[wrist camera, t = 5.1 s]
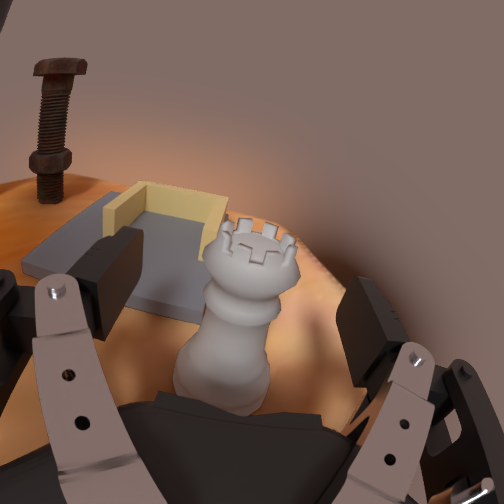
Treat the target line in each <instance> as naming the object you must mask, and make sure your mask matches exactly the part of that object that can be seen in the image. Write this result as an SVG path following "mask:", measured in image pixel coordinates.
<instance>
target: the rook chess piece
mask: <svg viewBox="0 0 504 504" xmlns="http://www.w3.org/2000/svg"><path fill="white" fill-rule="evenodd" d="M252 226H253V220H252V219H251V218H239V219H238V223H237V228H236V230H233V228H234V222H232V221H230V220H226V221H224V222H222V223H221V224H220V229H219V232H218V237H217V238H215V239H214V240H213V241H212V242H210V243H209V244H208V245H207V246H205V248H204V251H203V254H202V258H203V261H204V263H205V265H206V268H207V269H208V271H209V273H210V274H211V276H212V280H210V281H209V282H208V283H207V284H206V285H205V286H204V290H203V294H202V295H203V298H204V300H205V303H206V311H205V314H204V316H203V319H202V322H201V325H200V328H199V330H198V332H196V333H195V334H194V335H193V336H192V338H190V339H189V340H188V341H187V343H186V344H185V345H184V346H183V347H182V348H181V349H180V351H179V352H178V355H177V359H176V363H175V367H174V368H175V369H174V373H173V377H172V380H173V383H174V387H175V391H176V394H177V395H178V396H183V397H187V398H192V399H197V400H200V401H203V402H205V403H207V404H210V405H212V406H215V407H217V408H220V409H222V410H225V411H227V412H230V413H233V414H235V415H238V416H248V415H250V414H251V413H253V412H254V411H256V410H257V409H258V408H260V406H261V404H262V402H263V400H264V398H265V397H266V395H267V389H268V387H269V385H270V364H269V362H268V360H267V354H266V352H265V350H264V349H265V344H266V338H267V332H268V328H269V325H270V322H271V321H272V320H274V319H276V318H277V316H278V314H279V313H280V311H281V303H280V299H279V294H281V293H283V292H285V291H286V290H288V289H290V288H292V287H294V286H295V285H296V284H297V282H298V280H299V279H300V277H301V275H300V271H299V267H298V264H297V262H296V259H295V256H296V253H297V250H298V247H297V246H295V243H296V239H295V238H294V237H293V236H292V235H291V234H290V233H283V235H282V238H281V241H279V240H277V239H276V234H277V231H278V227H279V226H276V225H273V224H271V223H268V222H265V224H264V228H263V231H262V233H259V232H254V231H251V230H252Z"/></svg>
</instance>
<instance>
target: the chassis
mask: <svg viewBox="0 0 504 504" xmlns="http://www.w3.org/2000/svg"><path fill="white" fill-rule="evenodd" d="M228 200H229V197H224V196H220V195H215V194H210V193H205V192H200V191H195V190H190V189H185V188H180V187H174V186H169V185H164V184H158V183H153V182H147V181H139V182H138V183H136V184H135V185H133V186H132V187H130V188H129V189H127V190H126V191H125V192H123V193H117V192H112V191H111V192H110V193H108V194H107V195H105V196H104V197H102V198H101V199H99V200H98V201H96V202H95V203H93V204H92V205H91V206H89V207H88V208H86V209H85V210H84V211H82V212H81V213H79V214H78V215H77V216H75V217H74V218H73V219H71V220H70V221H69V222H67V223H66V224H65V225H63V226H62V227H61V228H59V229H58V230H57V231H56V232H54V233H53V234H52V235H51V236H49V237H48V238H47V239H46V240H44V241H43V242H42V243H41V244H39V245H38V246H37V247H36V248H35V249H33V250H32V251H31V252H30V253H29V254H28V255H26V256H25V257H24V258H23V259H22V260H21V264H22V269H23V273H25V274H28V275H30V276H33V277H36V278H39V279H43V278H44V277H46V276H49V275H52V274H65V273H66V272H67V271H68V270H69V269H70V268H71V267H72V266H73V265H74V264H75V263H76V262H77V261H78V260H79V259H80V258H81V257H82V255H84V253H85V252H86V251H87V250H88V249H90V247H91V246H92V245H93V244H94V243H95V242H96V241H97V240H100V239H102V238H104V237H106V236H108V235H109V236H113V235H114V234H115V233H116V232H117V231H118V230H119V229H120V228H121V227H122V226H129V227H133V228H138V229H142V230H143V232H144V243H143V266H142V273H141V277H140V280H139V282H138V284H137V285H136V287H135V289H134V290H133V292H132V294H131V295H130V297H129V299H128V300H127V302H126V304H125V306H127V307H130V308H134V309H138V310H142V311H145V312H149V313H153V314H157V315H161V316H165V317H169V318H173V319H178V320H182V321H186V322H191V323H195V324H200V325H201V322H202V318H203V313H204V309H205V305H206V303H205V300H204V298H203V295H202V294H203V290H204V286H205V285H206V284H207V283H208V282H209V281H210V280H212V276H211V274H210V273H209V271H208V269H207V268H206V265H205V263H204V261H203V258H202V254H203V251H204V248H205V246H207V245H208V244H209V243H210V242H212V241H213V240H214V239H215V238H217V237H218V232H219V229H220V224H221V223H222V222H224V221H226V220H228V216H229V215H228V214H226V209H227V204H228Z"/></svg>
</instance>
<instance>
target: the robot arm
mask: <svg viewBox="0 0 504 504" xmlns="http://www.w3.org/2000/svg"><path fill="white" fill-rule="evenodd" d="M12 1H13V0H0V32H1V30H2V28H3V26H4V23H5V20H6V17H7V14H8V11H9V9H10V6H11V4H12ZM143 243H144V232H143V230H142V229H138V228H133V227H129V226H122V227H121V228H120V229H119V230H118V231H117V232H116V233H115V234H114V235H113V236H109V235H108V236H106V237H104V238H102V239H100V240H97V241H96V242H95V243H94V244H93V245H92V246H91V247H90V249H88V250H87V251H86V252H85V253H84V255H82V257H81V258H80V259H79V260H78V261H77V262H76V263H75V264H74V265H73V266H72V267H71V268H70V269H69V270H68V271H67V272H66V273H65V274H52V275H49V276H46V277H44V278H43V279H41V280H40V281H39V282H38V283H37V285H36V287H31V286H18V285H17V283H16V279H15V276H14V274H13V273H12V272H11V271H9V270H4V269H0V417H1V414H2V412H3V410H4V408H5V406H6V404H7V401H8V399H9V397H10V395H11V393H12V391H13V389H14V387H15V385H16V383H17V381H18V379H19V378H20V376H21V374H22V372H23V370H24V368H25V366H26V365H27V363H28V361H29V359H30V358H31V356H32V354H33V357H34V365H35V373H36V380H37V386H38V392H39V398H40V403H41V408H42V412H43V417H44V421H45V425H46V429H47V433H48V437H49V441H50V443H48V444H46V445H44V446H42V447H40V448H38V449H36V450H34V451H32V452H30V453H28V454H26V455H24V456H22V457H20V458H18V459H15V460H13V461H11V462H9V463H7V464H4V465H2V466H0V504H418V503H417V502H416V501H415V500H414V499H413V498H411V497H410V496H409V495H408V494H407V492H408V490H409V488H410V485H411V483H412V480H413V478H414V475H415V472H416V469H417V467H418V464H419V462H420V466H421V471H422V476H423V481H424V486H425V492H426V498H427V504H504V433H503V431H502V428H501V425H500V423H499V420H498V418H497V416H496V413H495V411H494V409H493V406H492V404H491V402H490V400H489V398H488V395H487V393H486V391H485V389H484V387H483V385H482V382H481V380H480V378H479V377H478V374H477V372H476V371H475V369H474V368H473V367H472V366H471V365H470V364H469V363H467V362H466V361H464V360H461V359H456V360H454V361H453V362H452V363H451V365H450V366H449V367H448V368H444V367H441V366H438V365H435V362H434V359H433V357H432V355H431V354H430V353H429V351H428V350H427V349H425V348H424V347H423V346H421V345H419V344H417V343H413V342H410V340H409V338H408V336H407V334H406V332H405V330H404V328H403V326H402V324H401V322H400V321H399V320H398V317H397V315H396V313H394V312H395V311H394V309H393V307H392V305H391V303H390V302H389V301H388V300H387V299H386V298H385V297H384V296H383V295H382V294H381V293H380V291H379V289H378V287H377V286H376V284H375V282H374V280H372V279H368V278H363V277H358V276H354V277H353V278H352V279H351V281H350V283H349V285H348V287H347V290H346V292H345V294H344V296H343V298H342V300H341V302H340V304H339V306H338V309H337V312H336V324H337V327H338V331H339V334H340V338H341V341H342V345H343V348H344V352H345V356H346V359H347V363H348V367H349V370H350V374H351V378H352V382H353V386H354V387H359V388H367V392H366V393H365V395H364V396H363V397H362V399H361V401H360V402H359V404H358V406H357V408H356V409H355V411H354V413H353V414H352V416H351V418H350V419H349V421H348V423H347V424H346V426H345V428H344V429H343V431H342V432H341V433H339V432H337V431H335V430H333V429H330V428H327V427H324V426H322V419H321V415H318V414H300V413H287V412H282V413H274V414H266V415H256V416H238V415H235V414H233V413H230V412H227V411H225V410H222V409H220V408H217V407H215V406H212V405H210V404H207V403H205V402H203V401H200V400H197V399H192V398H187V397H183V396H178V395H174V394H170V393H166V392H162V391H158V393H157V396H156V400H155V401H145V402H135V403H129V404H125V405H122V406H119V407H116V405H115V403H114V400H113V398H112V395H111V392H110V390H109V387H108V384H107V382H106V379H105V376H104V373H103V370H102V367H101V364H100V361H99V358H98V355H97V352H96V349H95V345H94V342H93V338H95V339H98V340H101V341H104V342H105V340H106V338H107V336H108V334H109V332H110V331H111V329H112V327H113V325H114V323H115V321H116V320H117V318H118V316H119V314H120V313H121V311H122V309H123V307H124V306H125V304H126V302H127V300H128V299H129V297H130V295H131V294H132V292H133V290H134V289H135V287H136V285H137V284H138V282H139V280H140V277H141V273H142V266H143ZM453 409H456V412H457V415H458V418H459V421H460V424H461V428H462V431H461V435H460V437H459V438H458V439H457V440H456V441H455V442H454V443H453V444H452V442H451V439H450V435H449V432H448V429H447V426H446V423H445V420H444V418H445V417H446V416H447V415H448V414H449V413H450V412H452V411H453Z"/></svg>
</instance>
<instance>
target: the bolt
mask: <svg viewBox="0 0 504 504" xmlns="http://www.w3.org/2000/svg"><path fill="white" fill-rule="evenodd" d="M86 70H87V62H86V61H85V60H84V59H78V58H52V59H45V60H41V61H39V62H38V63H37V64H36V65H35V67H34V73H33V76H44V78H43V83H42V90H41V91H42V96H41V97H42V98H43V99H41V101H42V102H41V104H42V105H41V106H40V107H41V109H40V111H41V112H40V113H39V114H40V116H39V117H40V119H39V121H40V122H39V124H40V125H39V126H38V127H40V128H39V129H38V130H39V132H38V133H39V135H38V137H39V138H38V140H39V141H38V142H37V143H39V144H38V145H37V146H38V148H37V149H38V150H37V151H34V152H33V153H32V154H31V156H30V157H29V168H30V169H31V171H32V172H33V173H36V174H37V175H38V176H37V187H38V188H37V190H38V191H37V193H38V194H37V196H38V197H37V199H39V202H40V203H43V204H55V203H58V202H59V201H60V200H61V199H62V198H63V197H64V195H63V194H64V193H63V191H64V190H63V185H64V184H63V182H64V181H63V176H64V175H63V173H64V172H63V171H64V170H66V169H67V168H68V167H69V166H70V164H71V163H72V152H71V151H70V150H69V149H67V148H65V147H64V145H65V144H64V143H65V141H64V140H65V136H66V135H65V133H66V131H65V130H66V128H65V127H66V123H67V122H66V120H67V118H66V117H67V115H66V114H67V113H68V112H66V111H68V109H67V108H68V104H69V102H68V101H69V99H68V98H70V96H69V95H70V94H71V90H72V87H73V81H74V76H75V75H85V74H86Z"/></svg>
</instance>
